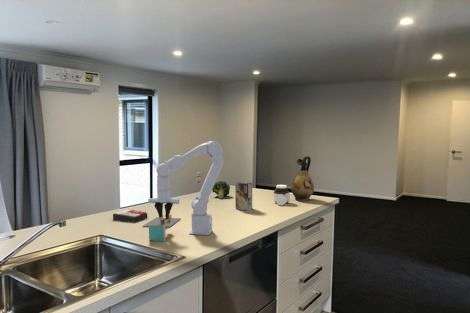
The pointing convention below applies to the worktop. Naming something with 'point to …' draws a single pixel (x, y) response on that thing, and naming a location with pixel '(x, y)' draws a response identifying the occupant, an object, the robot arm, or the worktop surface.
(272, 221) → the worktop surface
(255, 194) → the worktop surface
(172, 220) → the mat
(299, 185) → the ceramic jug
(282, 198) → the spread jar
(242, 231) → the worktop surface
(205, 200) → the robot arm
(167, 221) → the beige long bar
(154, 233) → the tile
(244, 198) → the coffee box
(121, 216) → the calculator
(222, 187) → the vegetable
